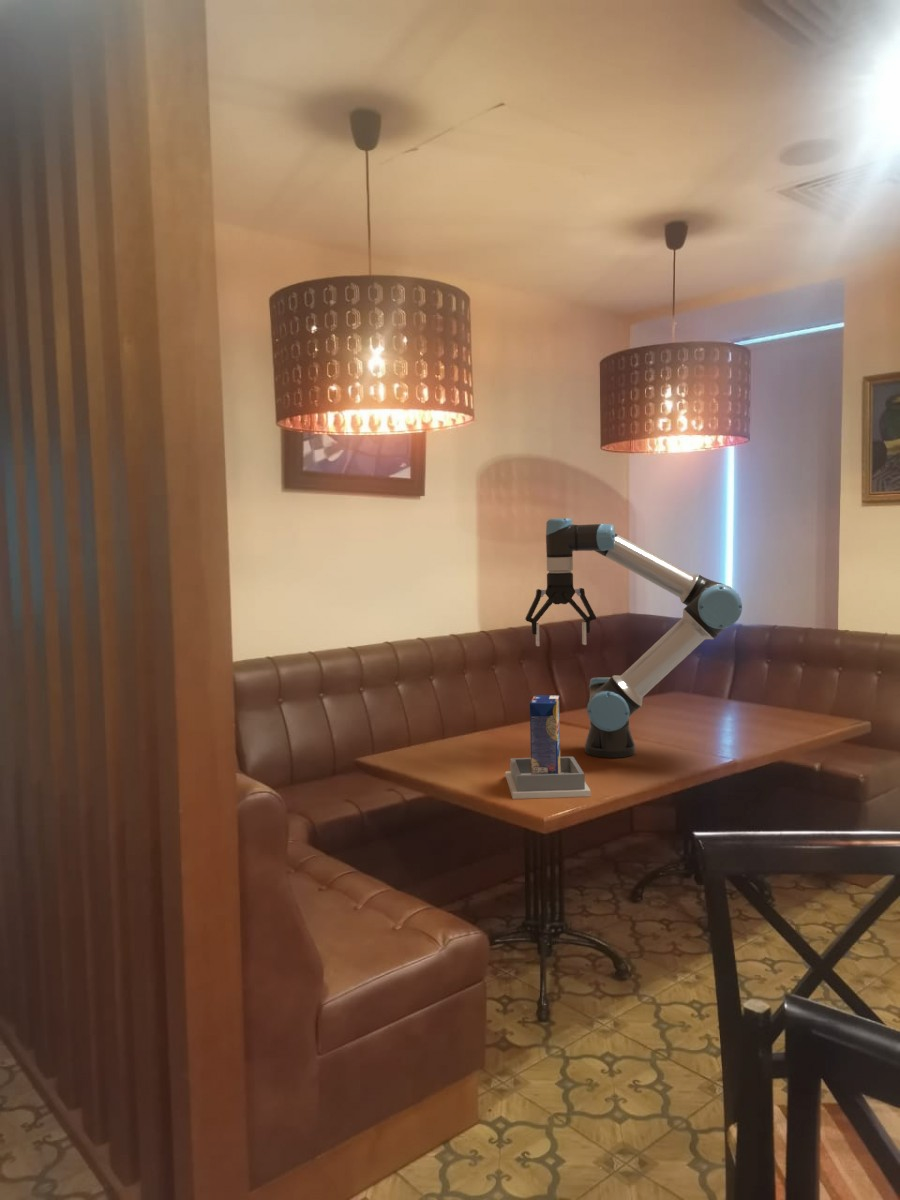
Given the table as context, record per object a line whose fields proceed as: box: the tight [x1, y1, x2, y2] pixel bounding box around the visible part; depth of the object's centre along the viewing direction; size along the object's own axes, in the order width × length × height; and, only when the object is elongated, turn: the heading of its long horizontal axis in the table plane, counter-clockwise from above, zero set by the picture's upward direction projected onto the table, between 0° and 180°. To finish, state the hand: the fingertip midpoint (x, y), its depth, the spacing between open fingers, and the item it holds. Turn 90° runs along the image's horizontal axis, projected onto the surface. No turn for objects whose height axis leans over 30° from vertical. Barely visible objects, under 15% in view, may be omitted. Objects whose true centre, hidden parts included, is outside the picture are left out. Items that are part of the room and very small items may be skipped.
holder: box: [505, 756, 592, 800], centre depth 227 cm, size 20×20×6 cm
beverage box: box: [529, 694, 561, 774], centre depth 226 cm, size 7×11×22 cm, turn 169°
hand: (561, 645), depth 248 cm, fingers open, 13 cm apart
